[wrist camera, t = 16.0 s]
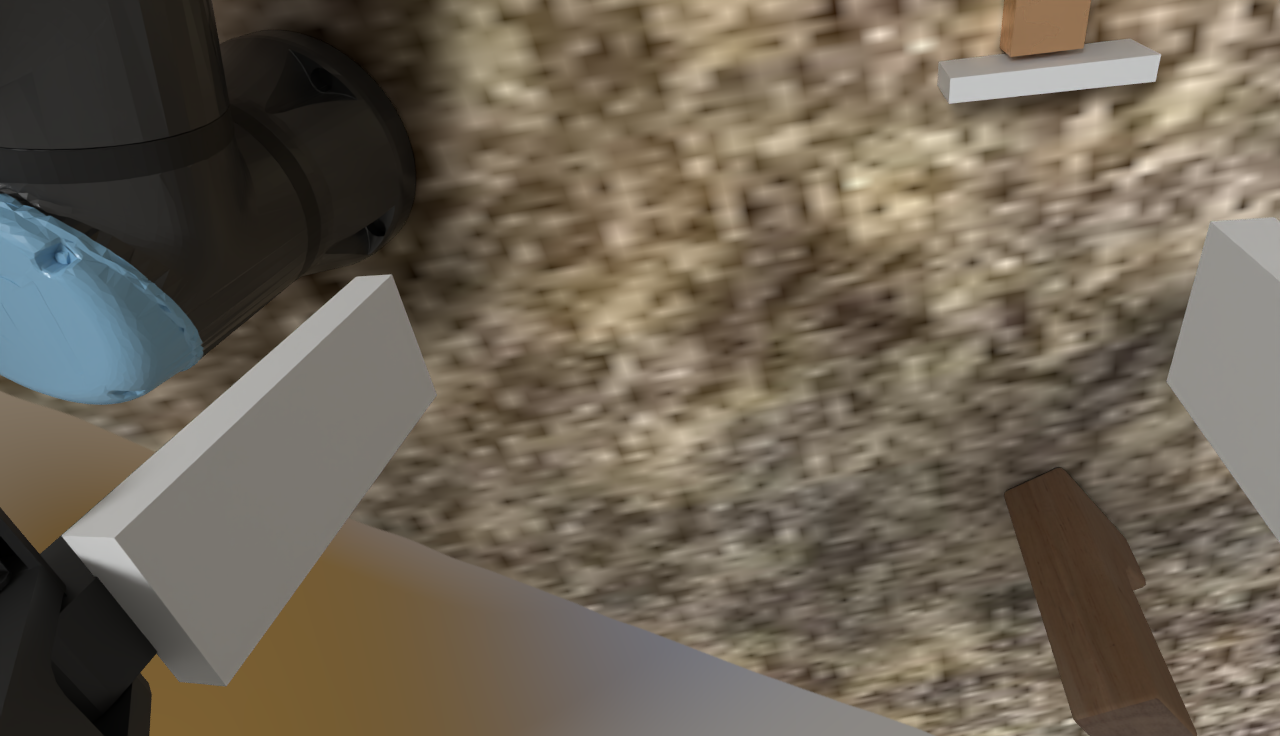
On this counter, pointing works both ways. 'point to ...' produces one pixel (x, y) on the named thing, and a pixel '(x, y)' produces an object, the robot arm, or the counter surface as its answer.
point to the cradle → (1048, 71)
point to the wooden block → (1094, 612)
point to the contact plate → (1043, 26)
